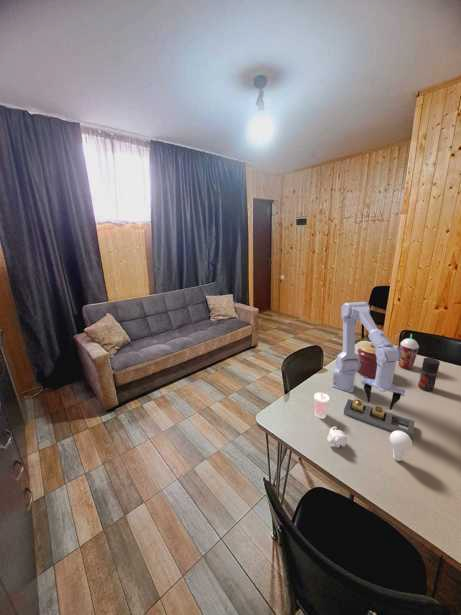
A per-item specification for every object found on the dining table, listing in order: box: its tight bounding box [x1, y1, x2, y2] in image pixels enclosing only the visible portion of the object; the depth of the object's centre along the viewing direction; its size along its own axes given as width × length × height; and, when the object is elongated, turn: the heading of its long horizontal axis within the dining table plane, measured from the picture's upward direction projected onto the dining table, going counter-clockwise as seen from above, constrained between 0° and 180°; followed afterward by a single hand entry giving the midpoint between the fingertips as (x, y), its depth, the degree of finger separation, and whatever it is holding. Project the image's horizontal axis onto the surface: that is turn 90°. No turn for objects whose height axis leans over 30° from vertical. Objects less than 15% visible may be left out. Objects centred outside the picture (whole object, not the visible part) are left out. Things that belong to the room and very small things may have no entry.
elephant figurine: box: [326, 426, 350, 449], centre depth 89 cm, size 7×8×6 cm
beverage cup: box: [313, 385, 330, 419], centre depth 103 cm, size 6×6×14 cm
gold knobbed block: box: [351, 398, 366, 414], centre depth 105 cm, size 4×4×6 cm
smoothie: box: [398, 333, 420, 370], centre depth 136 cm, size 8×8×20 cm
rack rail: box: [343, 398, 415, 441], centre depth 101 cm, size 24×8×2 cm, turn 53°
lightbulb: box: [389, 431, 413, 462], centre depth 82 cm, size 6×6×11 cm
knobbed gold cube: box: [371, 404, 386, 421], centre depth 101 cm, size 4×4×6 cm
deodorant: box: [417, 357, 440, 393], centre depth 118 cm, size 6×6×15 cm
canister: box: [356, 341, 377, 379], centre depth 133 cm, size 13×13×18 cm
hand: (379, 404), depth 99 cm, fingers open, 7 cm apart
